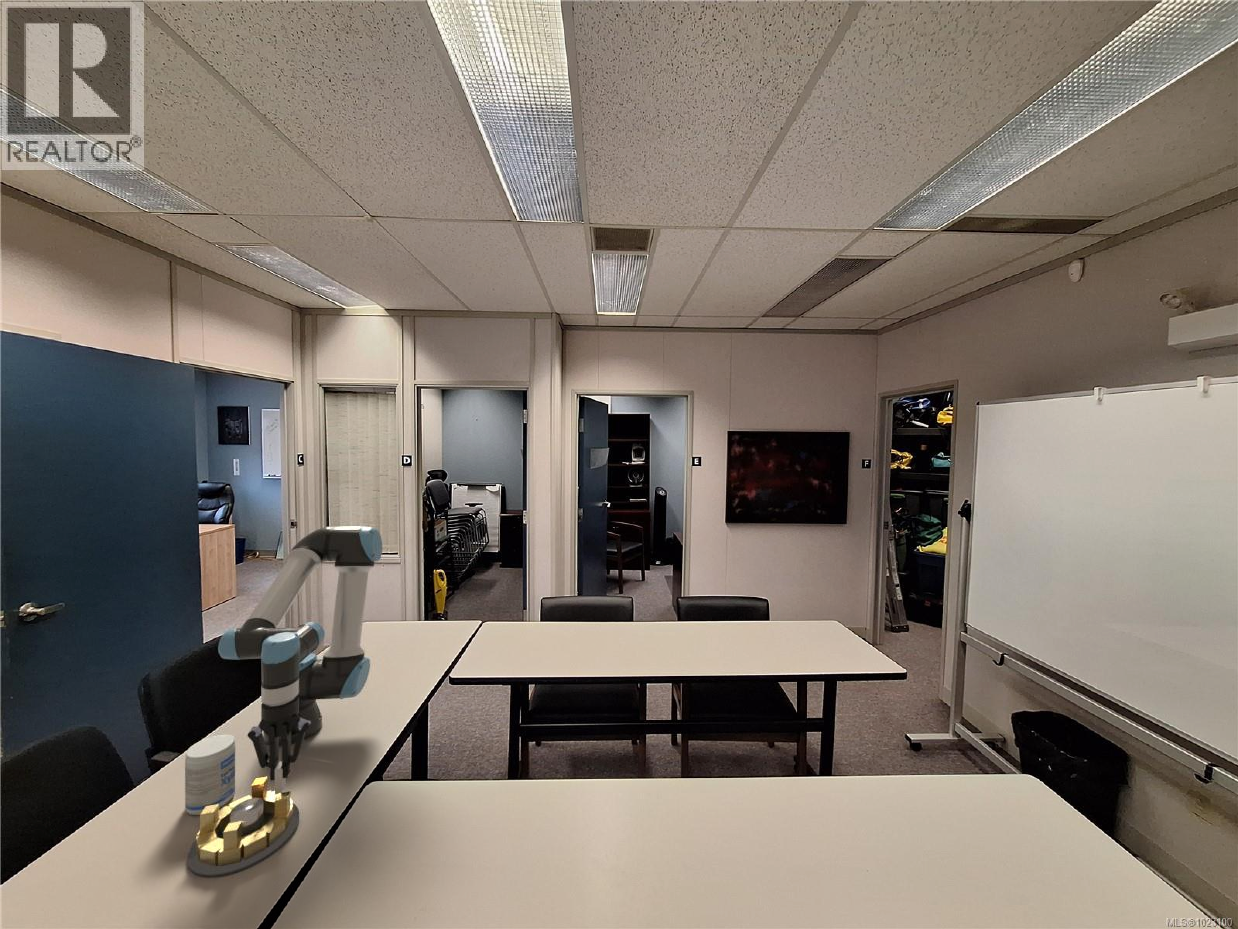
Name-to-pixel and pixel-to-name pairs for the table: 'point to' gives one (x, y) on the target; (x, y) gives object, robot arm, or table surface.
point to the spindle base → (246, 862)
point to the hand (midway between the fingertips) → (280, 790)
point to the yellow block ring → (233, 842)
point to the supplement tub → (209, 773)
